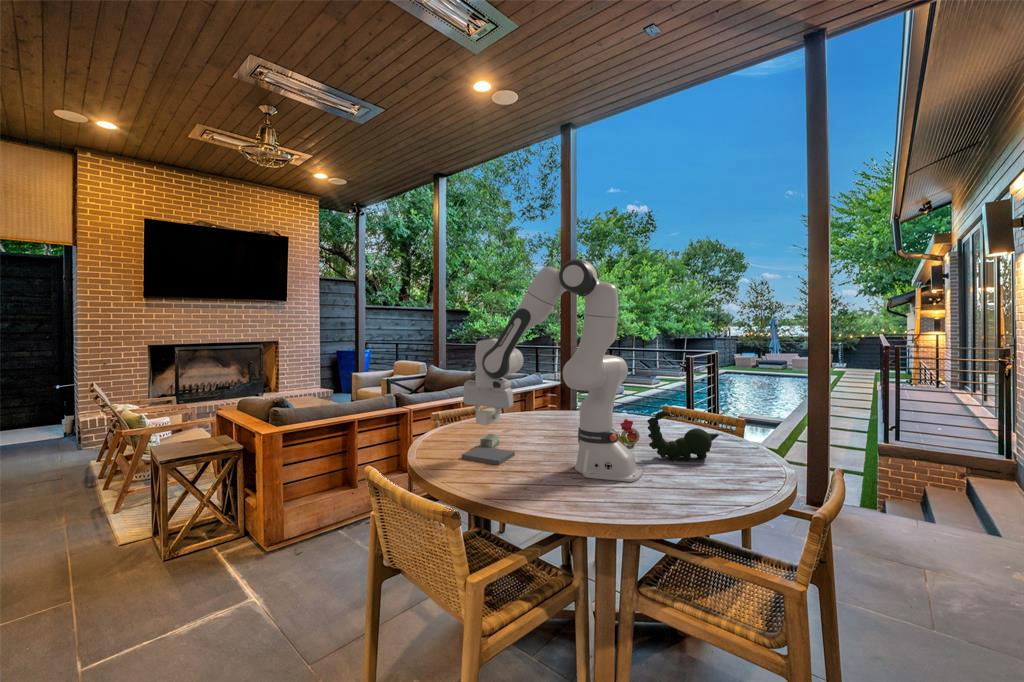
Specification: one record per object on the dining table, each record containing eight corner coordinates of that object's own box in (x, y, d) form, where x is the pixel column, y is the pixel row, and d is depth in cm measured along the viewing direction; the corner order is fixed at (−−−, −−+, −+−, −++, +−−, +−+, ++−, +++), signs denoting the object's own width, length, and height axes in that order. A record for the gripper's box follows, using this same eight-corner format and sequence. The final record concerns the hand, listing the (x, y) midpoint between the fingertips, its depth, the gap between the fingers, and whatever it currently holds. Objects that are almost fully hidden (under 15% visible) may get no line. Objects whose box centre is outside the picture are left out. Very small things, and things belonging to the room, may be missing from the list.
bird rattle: (630, 448, 183) (610, 440, 182) (641, 423, 182) (621, 415, 182) (635, 453, 176) (614, 444, 176) (646, 427, 176) (626, 419, 175)
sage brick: (499, 445, 182) (499, 434, 182) (492, 451, 175) (492, 439, 175) (488, 444, 184) (487, 433, 184) (480, 449, 177) (480, 438, 176)
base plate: (514, 455, 168) (514, 451, 168) (499, 464, 158) (499, 460, 158) (479, 449, 176) (479, 446, 176) (461, 458, 165) (461, 454, 165)
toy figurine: (655, 467, 158) (726, 461, 158) (651, 415, 157) (722, 408, 157) (648, 459, 168) (714, 453, 167) (643, 409, 167) (710, 403, 166)
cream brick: (499, 421, 168) (499, 409, 168) (486, 425, 162) (486, 413, 161) (489, 419, 171) (489, 407, 171) (475, 423, 165) (475, 411, 164)
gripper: (459, 380, 167) (460, 416, 168) (507, 384, 158) (507, 422, 159) (468, 378, 173) (469, 413, 174) (515, 382, 163) (515, 419, 164)
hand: (487, 418), depth 166 cm, fingers closed on cream brick, 5 cm apart
